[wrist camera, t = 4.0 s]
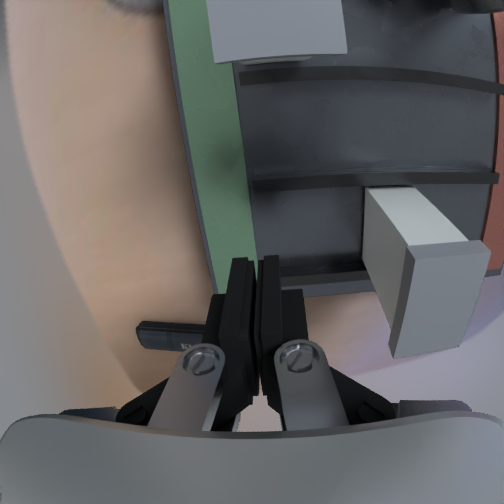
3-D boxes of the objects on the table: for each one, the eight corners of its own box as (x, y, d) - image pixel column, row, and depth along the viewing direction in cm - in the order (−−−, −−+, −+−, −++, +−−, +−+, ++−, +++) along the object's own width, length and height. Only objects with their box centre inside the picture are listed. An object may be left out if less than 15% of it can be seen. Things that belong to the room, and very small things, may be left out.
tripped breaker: (416, 181, 14) (491, 252, 8) (408, 257, 16) (459, 346, 11) (360, 182, 14) (415, 259, 9) (357, 261, 17) (393, 358, 11)
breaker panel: (497, -13, 9) (526, -18, 7) (486, 259, 19) (507, 283, 16) (170, -31, 11) (151, -49, 9) (220, 282, 21) (214, 313, 18)
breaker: (298, -25, 10) (321, -96, 4) (310, 64, 12) (347, 54, 6) (227, -19, 10) (195, -86, 4) (239, 70, 12) (214, 63, 6)
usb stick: (145, 339, 24) (140, 353, 23) (138, 315, 23) (131, 329, 22) (264, 346, 24) (264, 361, 23) (264, 321, 23) (264, 336, 21)
